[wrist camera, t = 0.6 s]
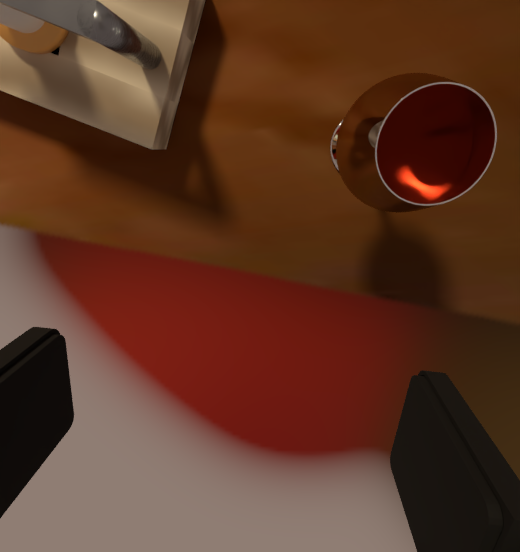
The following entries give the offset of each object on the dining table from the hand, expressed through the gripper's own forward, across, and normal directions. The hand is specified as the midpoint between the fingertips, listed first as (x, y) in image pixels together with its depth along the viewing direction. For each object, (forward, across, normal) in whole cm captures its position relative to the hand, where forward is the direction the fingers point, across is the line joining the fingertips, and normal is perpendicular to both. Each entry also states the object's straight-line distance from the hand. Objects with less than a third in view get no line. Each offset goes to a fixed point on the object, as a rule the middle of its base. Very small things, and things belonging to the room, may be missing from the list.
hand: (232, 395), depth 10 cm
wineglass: (+30, -8, -7) cm, 31 cm away
